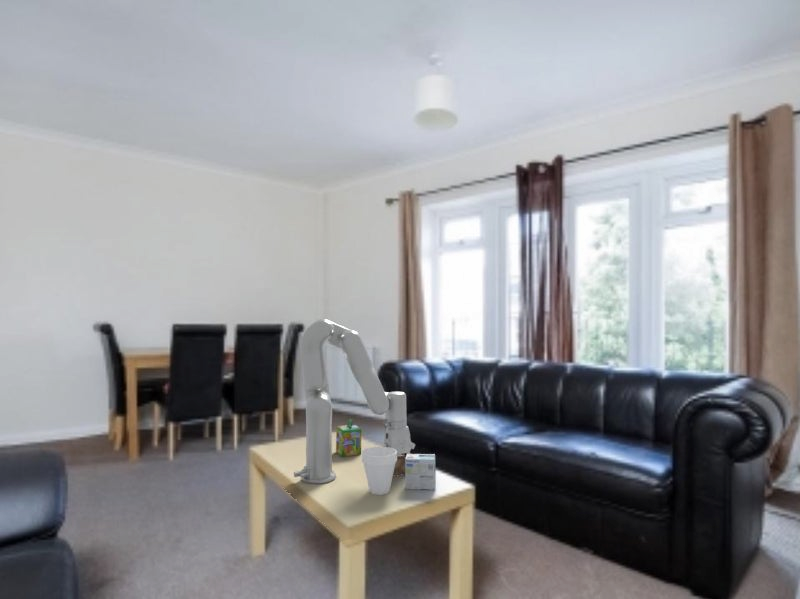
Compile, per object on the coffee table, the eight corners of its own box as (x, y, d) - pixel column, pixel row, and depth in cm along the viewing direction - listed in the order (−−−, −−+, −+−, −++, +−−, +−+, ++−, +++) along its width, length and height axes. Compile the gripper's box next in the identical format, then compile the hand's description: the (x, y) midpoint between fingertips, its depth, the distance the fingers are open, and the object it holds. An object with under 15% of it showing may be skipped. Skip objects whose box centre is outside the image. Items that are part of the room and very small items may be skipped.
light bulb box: (435, 483, 169) (435, 453, 169) (435, 490, 162) (435, 459, 162) (406, 482, 170) (406, 453, 170) (405, 489, 163) (404, 458, 163)
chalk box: (335, 452, 209) (335, 418, 210) (355, 449, 213) (354, 416, 214) (342, 457, 201) (341, 423, 201) (362, 454, 205) (361, 420, 205)
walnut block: (395, 476, 177) (395, 460, 177) (386, 472, 181) (386, 456, 182) (408, 473, 180) (407, 457, 180) (398, 469, 185) (398, 454, 185)
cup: (378, 482, 170) (378, 444, 171) (404, 490, 163) (404, 450, 163) (354, 492, 161) (354, 452, 161) (381, 500, 153) (380, 459, 154)
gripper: (384, 429, 173) (384, 476, 173) (420, 422, 184) (420, 466, 183) (373, 425, 179) (373, 471, 179) (408, 419, 190) (409, 462, 189)
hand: (397, 468), depth 181 cm, fingers open, 8 cm apart
